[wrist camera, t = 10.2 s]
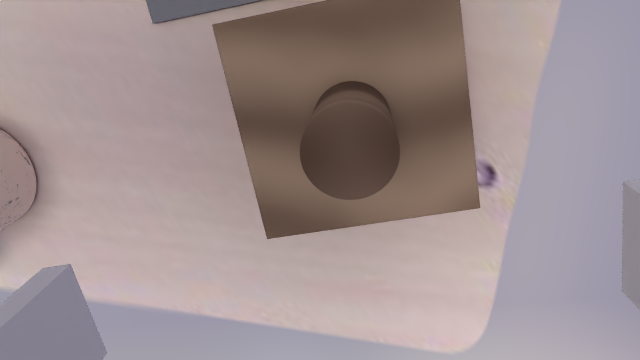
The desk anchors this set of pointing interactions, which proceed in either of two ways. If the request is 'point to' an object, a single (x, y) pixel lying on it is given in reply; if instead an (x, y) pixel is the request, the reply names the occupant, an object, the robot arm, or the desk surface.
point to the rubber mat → (187, 7)
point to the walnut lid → (352, 112)
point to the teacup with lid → (14, 181)
